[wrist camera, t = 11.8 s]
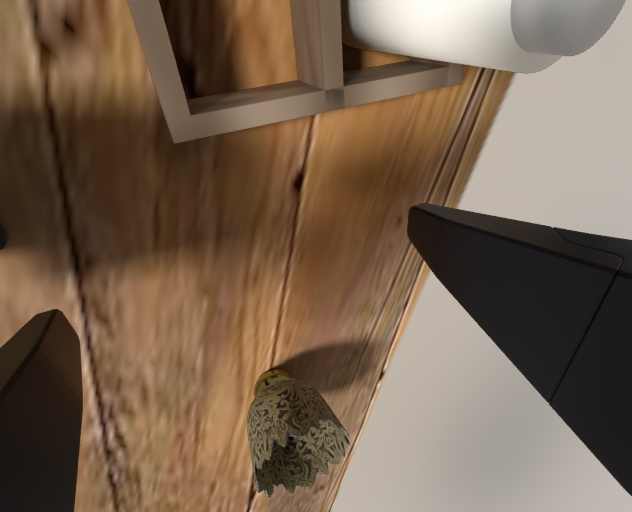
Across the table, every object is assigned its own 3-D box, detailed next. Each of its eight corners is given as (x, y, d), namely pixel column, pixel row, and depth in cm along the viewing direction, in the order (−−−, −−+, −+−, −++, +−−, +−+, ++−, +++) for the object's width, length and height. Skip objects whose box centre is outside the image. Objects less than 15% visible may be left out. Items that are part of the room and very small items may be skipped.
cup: (324, 356, 34) (368, 431, 28) (283, 411, 36) (316, 493, 29) (257, 342, 29) (293, 428, 23) (214, 406, 31) (237, 502, 25)
